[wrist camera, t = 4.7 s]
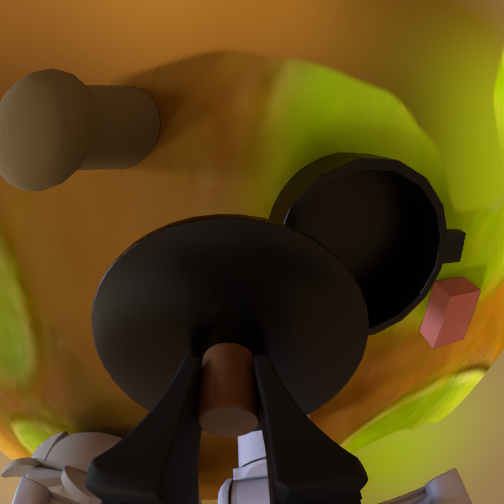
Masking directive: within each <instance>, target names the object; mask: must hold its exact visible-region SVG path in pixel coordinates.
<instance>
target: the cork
mask: <svg viewBox="0 0 504 504" xmlns="http://www.w3.org/2000/svg"><path fill="white" fill-rule="evenodd" d="M159 129H160V117H159V111H158V108H157V106H156V104H155V102H154V101H153V99H152V98H151V97H150V96H149V95H148V94H147V93H146V92H144V91H143V90H141V89H138V88H135V87H132V86H106V85H88V86H86V85H85V84H84V83H83V82H81V81H80V80H79V79H78V78H77V77H76V76H75V75H73V74H71V73H67V72H64V71H60V70H56V69H49V70H43V71H38V72H33V73H30V74H29V75H27V76H26V77H24V78H23V79H21V80H20V81H18V82H17V83H16V84H14V85H13V86H12V87H11V88H10V89H9V91H8V92H7V93H6V94H5V95H4V97H3V98H2V100H1V102H0V174H1V176H2V177H3V178H4V179H5V180H6V181H7V182H8V183H10V184H11V185H13V186H15V187H17V188H19V189H21V190H30V191H43V190H46V189H48V188H51V187H53V186H56V185H58V184H61V183H63V182H64V181H65V180H66V179H68V178H69V177H70V176H71V175H72V174H73V173H74V172H76V171H77V170H89V169H124V168H127V167H131V166H134V165H135V164H137V163H138V162H140V161H141V160H143V159H144V158H145V157H146V156H147V155H148V154H149V152H150V151H151V150H152V149H153V147H154V145H155V142H156V140H157V138H158V136H159Z"/></svg>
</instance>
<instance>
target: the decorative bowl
mask: <svg viewBox="0 0 504 504" xmlns="http://www.w3.org/2000/svg"><path fill="white" fill-rule="evenodd" d="M121 439H122V438H121V437H118V436H114V435H110V434H105V433H98V432H84V433H74V434H68V432H67V431H65V432H62V433H59V434H56V435H54V436H52V437H50V438H48V439H47V440H45V441H44V442H43V443H42V444H41V445H40V446H39V447H38V448H37V449H36V450H35V452H34V453H33V455H32V457H31V458H20V459H16V460H14V461H12V462H10V463H9V464H7V465H6V466H5V467H4V469H3V471H2V474H1V476H2V477H21V476H25V477H27V478H29V479H32V480H34V481H36V482H38V483H40V484H42V485H43V486H45V487H46V488H48V489H49V490H50V491H51V492H53V493H56V494H58V495H61V496H63V497H66V498H69V499H72V500H74V501H77V502H80V503H83V504H101V501H102V500H100V499H99V498H97V497H96V496H95V495H93V494H92V493H91V492H90V491H88V490H87V489H86V487H85V485H84V482H85V478H86V475H87V471H88V468H89V466H90V464H91V461H92V459H93V458H95V457H97V456H98V455H100V454H102V453H103V452H105V451H106V450H108V449H109V448H111V447H112V446H114V445H115V444H116V443H117V442H119V441H120V440H121ZM199 504H202V503H201V500H200V497H199Z"/></svg>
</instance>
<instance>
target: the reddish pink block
mask: <svg viewBox="0 0 504 504" xmlns="http://www.w3.org/2000/svg"><path fill="white" fill-rule="evenodd" d="M480 292H481V290H480V289H479V288H478V287H476V286H475V285H474V284H473V283H471V282H470V281H469V280H468V279H467V278H465V277H459V278H453V279H447V280H440V281H434V283H433V287H432V291H431V295H430V298H429V302H428V306H427V309H426V312H425V316H424V319H423V322H422V325H421V328H420V332H421V334H422V335H423V336H424V338H425V339H426V340H427V342H428V343H429V344H430V346H431V347H432V348H436V347H440V346H443V345H447V344H450V343H453V342H456V341H460V340H463V338H464V336H465V333H466V331H467V328H468V326H469V323H470V321H471V318H472V315H473V313H474V310H475V307H476V304H477V301H478V298H479V295H480Z"/></svg>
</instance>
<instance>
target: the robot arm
mask: <svg viewBox="0 0 504 504" xmlns="http://www.w3.org/2000/svg"><path fill="white" fill-rule="evenodd" d="M254 367H255V379H256V386H257V393H258V403H259V414H260V425H261V431H254V432H251V433H249V434H246V435H243V436H238V456H239V468H235V469H233V478H231V479H227V480H226V481H225V482H224V484H223V485H222V486H221V488H220V490H219V495H218V504H361V501H360V500H361V499H362V496H361V493H360V490H361V489H362V488H363V487H364V486H365V484H366V483H367V481H368V477H367V473H366V471H365V469H364V467H363V466H362V464H361V462H360V461H359V459H358V458H357V457H355V456H354V455H352V454H351V453H349V452H348V451H346V450H345V449H343V448H342V447H341V446H339V445H338V444H337V443H335V442H334V441H333V440H332V439H330V438H329V437H328V436H327V435H326V434H325V433H324V432H323V431H321V430H320V429H319V428H318V427H317V426H316V425H315V424H314V423H313V422H312V421H311V418H310V414H308V415H306V414H305V413H304V412H303V411H302V409H301V408H300V407H299V406H298V404H297V403H296V402H295V400H294V399H293V398H292V396H291V395H290V393H289V392H288V390H287V389H286V387H285V385H284V384H283V382H282V381H281V379H280V377H279V375H278V373H277V371H276V369H275V367H274V365H273V362H272V360H271V356H269V355H268V354H267V355H254ZM201 371H202V369H201V364H200V359H199V357H186V358H184V359H183V362H182V364H181V365H180V367H179V369H178V371H177V373H176V374H175V376H174V378H173V380H172V381H171V383H170V384H169V386H168V387H167V389H166V391H165V392H164V393H163V395H162V396H161V398H160V399H159V400H158V402H157V403H156V404H155V406H154V407H153V408H152V409H151V411H150V412H149V413H148V414H147V415H146V416H145V418H144V419H143V420H142V421H141V422H140V423H139V424H138V425H137V426H136V427H135V428H134V429H133V430H132V431H131V432H130V433H128V434H127V435H126V436H125V437H124V438H122V439H121V440H120V441H119V442H117V443H116V444H115V445H114V446H112V447H111V448H109V449H108V450H106V451H105V452H103V453H102V454H100V455H98V456H97V457H95V458H93V459H92V461H91V464H90V466H89V468H88V471H87V475H86V478H85V482H84V485H85V487H86V489H87V490H88V491H90V492H91V493H92V494H93V495H95V496H96V497H97V498H99V499H100V500H102V501H101V504H199V491H198V454H199V444H200V437H201V430H202V428H201V427H200V426H199V425H198V422H197V409H198V399H199V389H200V380H201ZM12 504H83V503H80V502H77V501H74V500H72V499H69V498H66V497H63V496H61V495H58V494H56V493H53V492H51V491H50V490H49V489H48V488H46V487H45V486H43V485H42V484H40V483H38V482H36V481H34V480H32V479H29V478H27V477H25V476H21V478H20V481H19V484H18V487H17V490H16V493H15V496H14V499H13V502H12ZM379 504H472V502H471V500H470V498H469V496H468V493H467V491H466V489H465V486H464V484H463V482H462V480H461V478H460V476H459V473H458V471H457V469H456V468H453V469H451V470H450V471H448V472H446V473H443V474H441V475H440V476H437V477H436V478H434V479H432V480H430V481H429V482H428V483H427V484H426V485H425V486H424V487H421V488H419V489H417V490H414V491H412V492H409V493H407V494H405V495H402V496H399V497H396V498H394V499H391V500H388V501H385V502H382V503H379Z"/></svg>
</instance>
